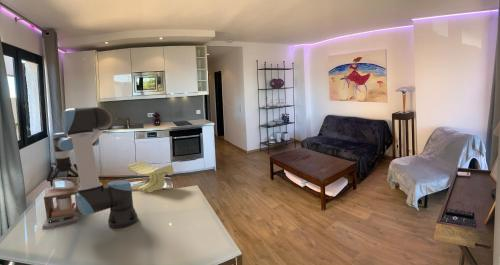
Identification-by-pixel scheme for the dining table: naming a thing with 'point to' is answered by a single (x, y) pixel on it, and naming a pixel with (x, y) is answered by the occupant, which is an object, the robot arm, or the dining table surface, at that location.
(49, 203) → the tunnel
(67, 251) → the dining table surface
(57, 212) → the sled
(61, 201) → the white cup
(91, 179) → the robot arm
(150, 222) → the dining table surface
